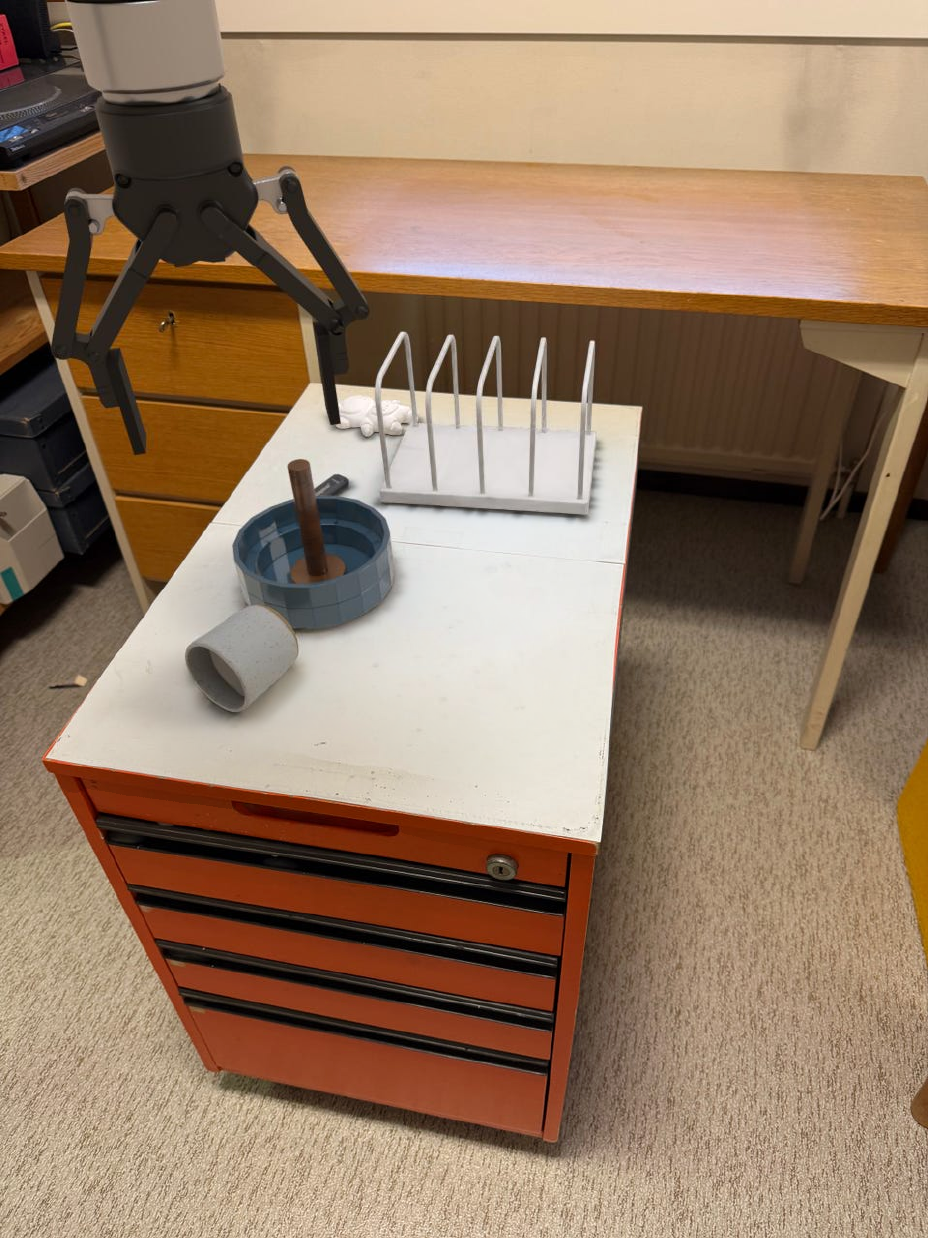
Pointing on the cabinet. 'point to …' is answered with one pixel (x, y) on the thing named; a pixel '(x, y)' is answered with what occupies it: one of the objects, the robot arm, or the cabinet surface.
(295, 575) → the wooden post on disc
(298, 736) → the cabinet surface
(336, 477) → the usb stick
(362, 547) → the bowl
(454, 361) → the file sorter
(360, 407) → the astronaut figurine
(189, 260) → the robot arm
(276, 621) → the ceramic mug
